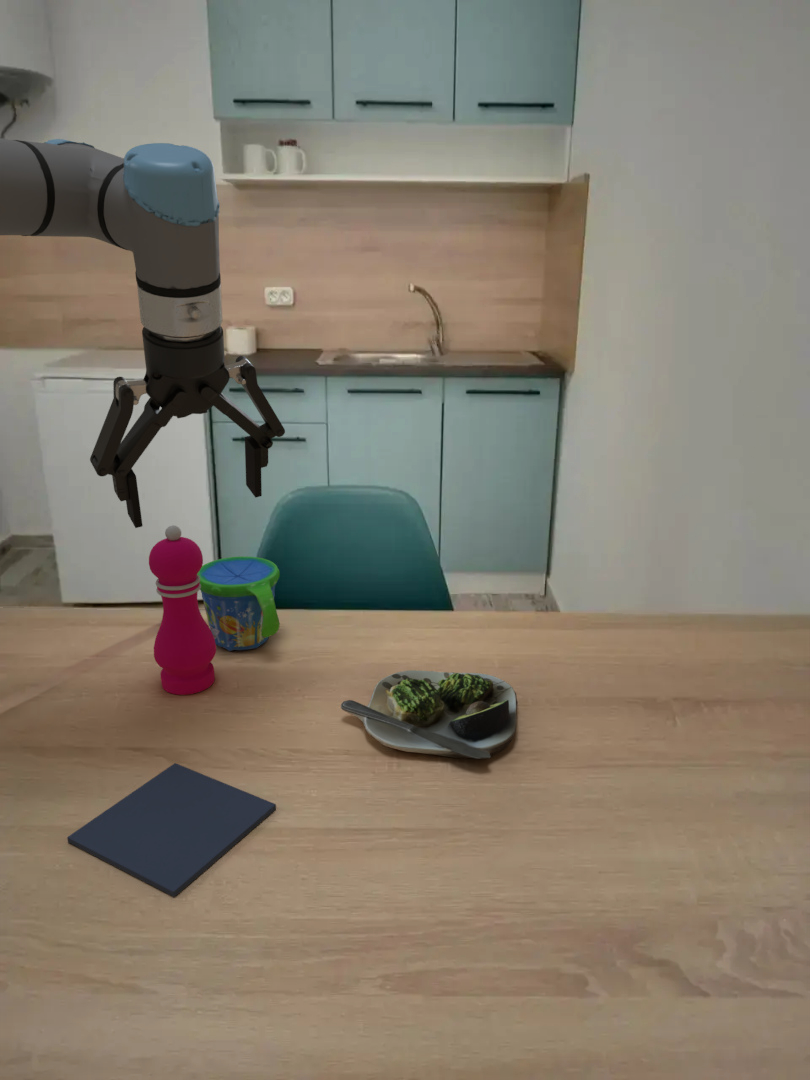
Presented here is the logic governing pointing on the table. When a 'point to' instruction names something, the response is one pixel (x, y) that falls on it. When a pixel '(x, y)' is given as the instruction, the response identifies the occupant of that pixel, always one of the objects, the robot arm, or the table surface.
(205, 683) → the pepper mill
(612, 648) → the table surface
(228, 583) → the snack cup
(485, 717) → the salad plate
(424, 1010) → the table surface
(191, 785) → the placemat
